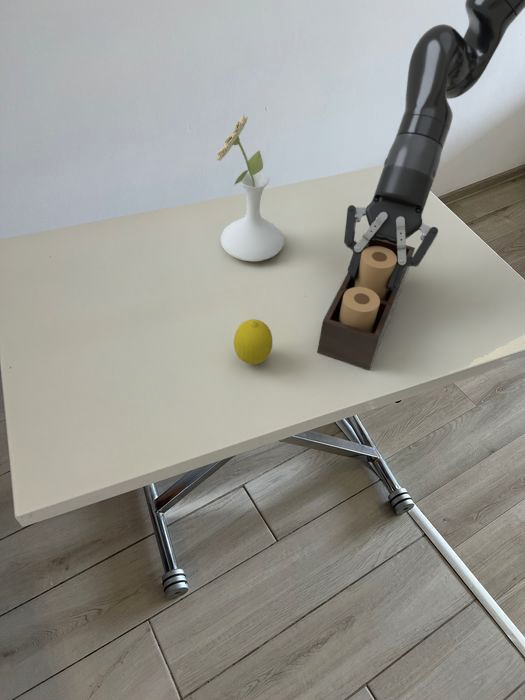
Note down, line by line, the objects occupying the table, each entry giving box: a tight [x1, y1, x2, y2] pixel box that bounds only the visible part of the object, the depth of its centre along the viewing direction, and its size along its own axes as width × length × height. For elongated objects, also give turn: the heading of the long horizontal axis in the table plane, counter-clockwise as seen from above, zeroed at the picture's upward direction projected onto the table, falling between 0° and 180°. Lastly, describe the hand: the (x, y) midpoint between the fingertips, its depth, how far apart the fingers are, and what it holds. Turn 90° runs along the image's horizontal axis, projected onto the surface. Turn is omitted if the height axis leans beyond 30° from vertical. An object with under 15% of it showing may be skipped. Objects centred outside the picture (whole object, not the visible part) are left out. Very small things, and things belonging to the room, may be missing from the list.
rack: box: [316, 239, 416, 371], centre depth 84 cm, size 23×8×7 cm, turn 156°
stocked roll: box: [338, 287, 380, 333], centre depth 78 cm, size 5×5×9 cm
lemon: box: [233, 318, 273, 365], centre depth 76 cm, size 6×6×8 cm
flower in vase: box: [216, 113, 285, 262], centre depth 87 cm, size 13×11×25 cm
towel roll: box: [354, 246, 397, 300], centre depth 81 cm, size 5×5×9 cm
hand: (370, 283), depth 79 cm, fingers closed on towel roll, 5 cm apart
